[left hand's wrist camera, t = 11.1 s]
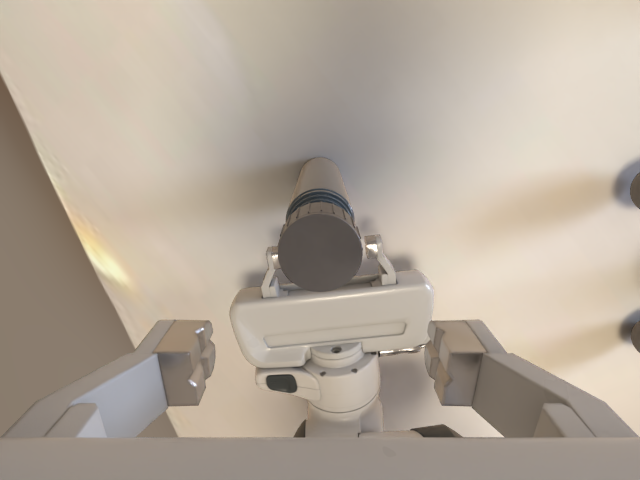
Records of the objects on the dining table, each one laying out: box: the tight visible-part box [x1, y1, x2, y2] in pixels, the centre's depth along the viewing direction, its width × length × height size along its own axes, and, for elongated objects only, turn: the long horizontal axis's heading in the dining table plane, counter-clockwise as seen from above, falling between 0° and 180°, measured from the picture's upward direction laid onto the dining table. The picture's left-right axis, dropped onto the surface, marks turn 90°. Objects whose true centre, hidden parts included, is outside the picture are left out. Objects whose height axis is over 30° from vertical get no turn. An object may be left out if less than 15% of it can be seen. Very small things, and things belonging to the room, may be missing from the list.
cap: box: [277, 201, 363, 292], centre depth 18 cm, size 4×4×2 cm
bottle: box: [286, 157, 355, 223], centre depth 27 cm, size 4×4×20 cm
